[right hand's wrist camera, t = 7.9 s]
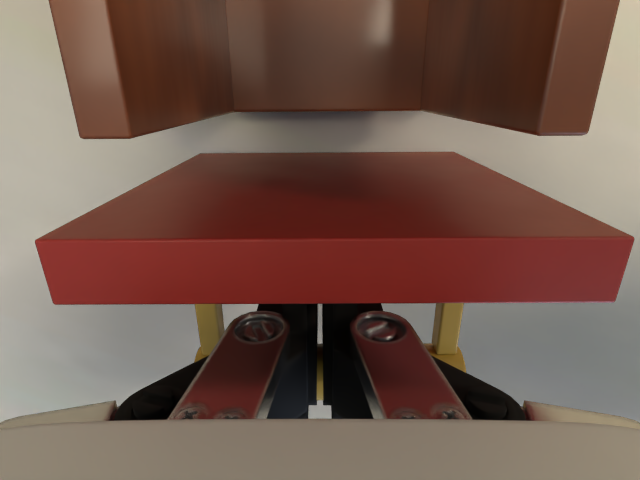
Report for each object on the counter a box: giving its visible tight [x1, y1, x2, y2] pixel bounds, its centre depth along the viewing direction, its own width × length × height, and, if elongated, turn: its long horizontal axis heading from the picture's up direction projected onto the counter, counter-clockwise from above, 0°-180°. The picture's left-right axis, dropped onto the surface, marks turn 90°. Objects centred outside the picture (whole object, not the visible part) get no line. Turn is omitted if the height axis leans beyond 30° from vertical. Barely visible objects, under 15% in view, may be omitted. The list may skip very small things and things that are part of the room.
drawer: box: [35, 0, 634, 400], centre depth 9 cm, size 21×10×9 cm, turn 0°
